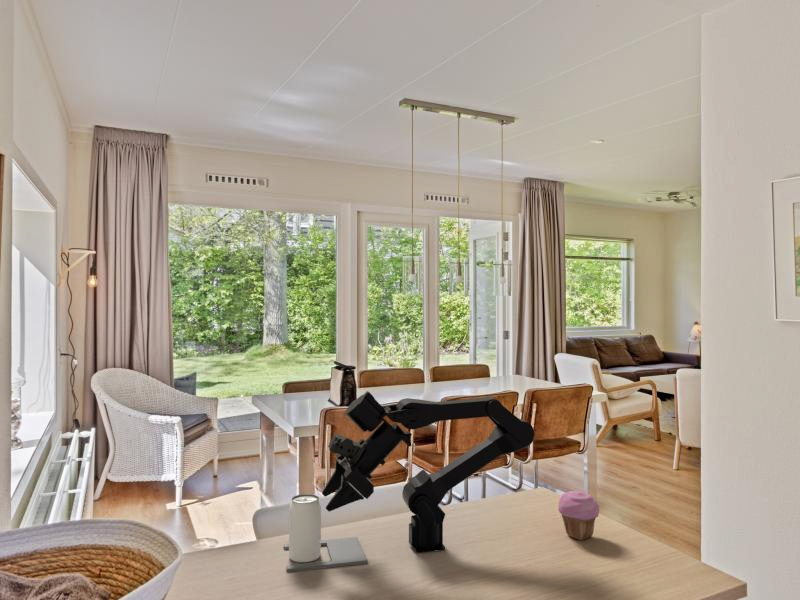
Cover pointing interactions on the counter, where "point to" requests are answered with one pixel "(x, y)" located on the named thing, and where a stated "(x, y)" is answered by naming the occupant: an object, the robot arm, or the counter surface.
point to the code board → (335, 554)
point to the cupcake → (578, 514)
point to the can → (305, 528)
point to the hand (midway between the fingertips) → (325, 502)
